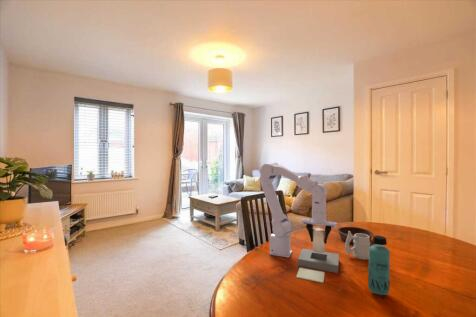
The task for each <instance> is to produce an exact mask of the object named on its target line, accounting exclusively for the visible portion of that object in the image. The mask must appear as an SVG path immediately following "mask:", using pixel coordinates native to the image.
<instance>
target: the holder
mask: <svg viewBox="0 0 476 317" xmlns="http://www.w3.org/2000/svg"><path fill="white" fill-rule="evenodd" d="M339 254H340V253H334V252H327V251H325V252H323V253H317V252H314V251H313V249H307V248H301V250H300V253H299V256H298V258H297V267H300V268H306V269H311V270H317V271H323V272H329V273H330V272H331V273H336V274H339V265H340V264H339V260H340V259H339V257H340V256H339Z"/></svg>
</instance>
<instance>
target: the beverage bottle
mask: <svg viewBox="0 0 476 317" xmlns="http://www.w3.org/2000/svg"><path fill="white" fill-rule="evenodd" d="M373 243H374V244H373ZM390 255H391V251H390V250H389V249H388V247H387V238H386V237H385V236H383V235H373V237H372V245H370V247H369V259H368V270H367V271H368V274H367V287H368V289H369V291H371V292H372V293H374V294H377V295H379V296H386V295H388V294H389V293H390V289H391V283H390V282H391V281H390V277H391V275H390V269H391V264H390V262H391V261H390V260H391V259H390Z"/></svg>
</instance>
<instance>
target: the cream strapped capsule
mask: <svg viewBox="0 0 476 317" xmlns="http://www.w3.org/2000/svg"><path fill="white" fill-rule="evenodd" d="M325 245H326V244H325V229H322V228H320V227H317V228H313V242H312V250H313V251H314V252H317V253H323V252H326V250H325V249H326V248H325V247H326V246H325Z"/></svg>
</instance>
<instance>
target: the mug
mask: <svg viewBox="0 0 476 317" xmlns="http://www.w3.org/2000/svg"><path fill="white" fill-rule="evenodd" d="M351 239H354V240H353V242H354V243H353V246H352V247H350V241H351ZM370 246H371V245H370V237H369V236H368V235H366V234H362V233H356V234H354V236H352V234H351V232H350V231H348V236H347V239H346V241H345V242H344V249H345V251H346V254H347V255H351V253H352V255H353V257H354V258H356V259H360V260H364V261H365V260H369V247H370Z"/></svg>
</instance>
